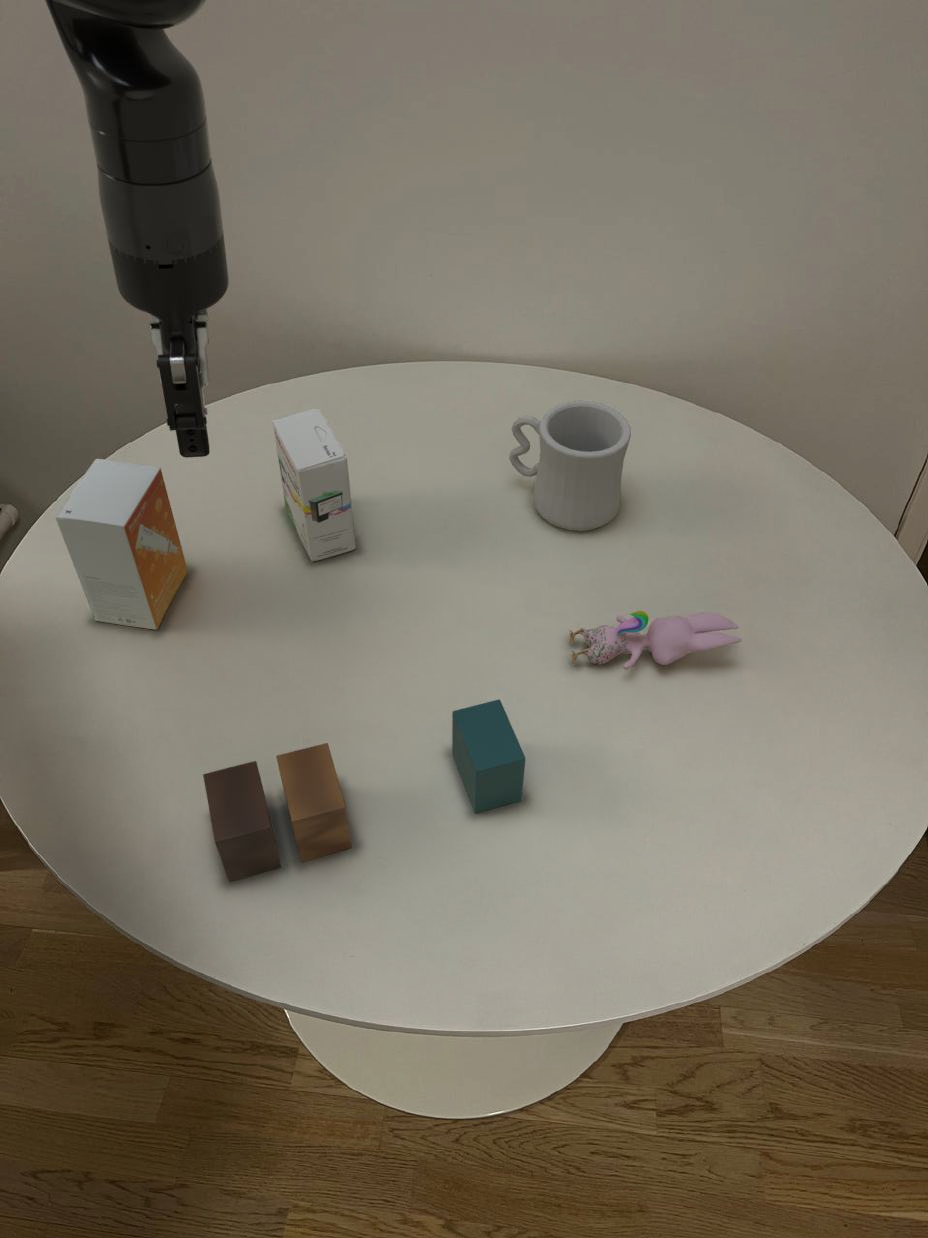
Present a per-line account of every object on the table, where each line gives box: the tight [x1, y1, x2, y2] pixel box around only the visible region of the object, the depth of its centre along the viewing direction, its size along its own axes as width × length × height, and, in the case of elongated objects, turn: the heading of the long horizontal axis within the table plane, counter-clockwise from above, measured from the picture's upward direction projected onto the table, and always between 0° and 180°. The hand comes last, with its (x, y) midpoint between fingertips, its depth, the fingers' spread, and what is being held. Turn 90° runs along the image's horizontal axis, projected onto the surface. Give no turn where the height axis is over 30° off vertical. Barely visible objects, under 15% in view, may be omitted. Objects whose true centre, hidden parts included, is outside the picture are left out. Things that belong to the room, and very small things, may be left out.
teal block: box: [451, 698, 526, 814], centre depth 80 cm, size 4×6×6 cm, turn 18°
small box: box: [55, 458, 189, 630], centre depth 90 cm, size 8×6×13 cm
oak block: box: [275, 742, 352, 863], centre depth 77 cm, size 4×6×6 cm, turn 18°
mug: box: [508, 400, 632, 532], centre depth 101 cm, size 12×9×10 cm
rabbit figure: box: [569, 610, 743, 670], centre depth 89 cm, size 6×6×15 cm
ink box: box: [271, 407, 357, 562], centre depth 97 cm, size 8×5×12 cm, turn 24°
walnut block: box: [202, 760, 282, 883], centre depth 76 cm, size 4×6×6 cm, turn 18°
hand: (194, 417), depth 79 cm, fingers open, 8 cm apart
